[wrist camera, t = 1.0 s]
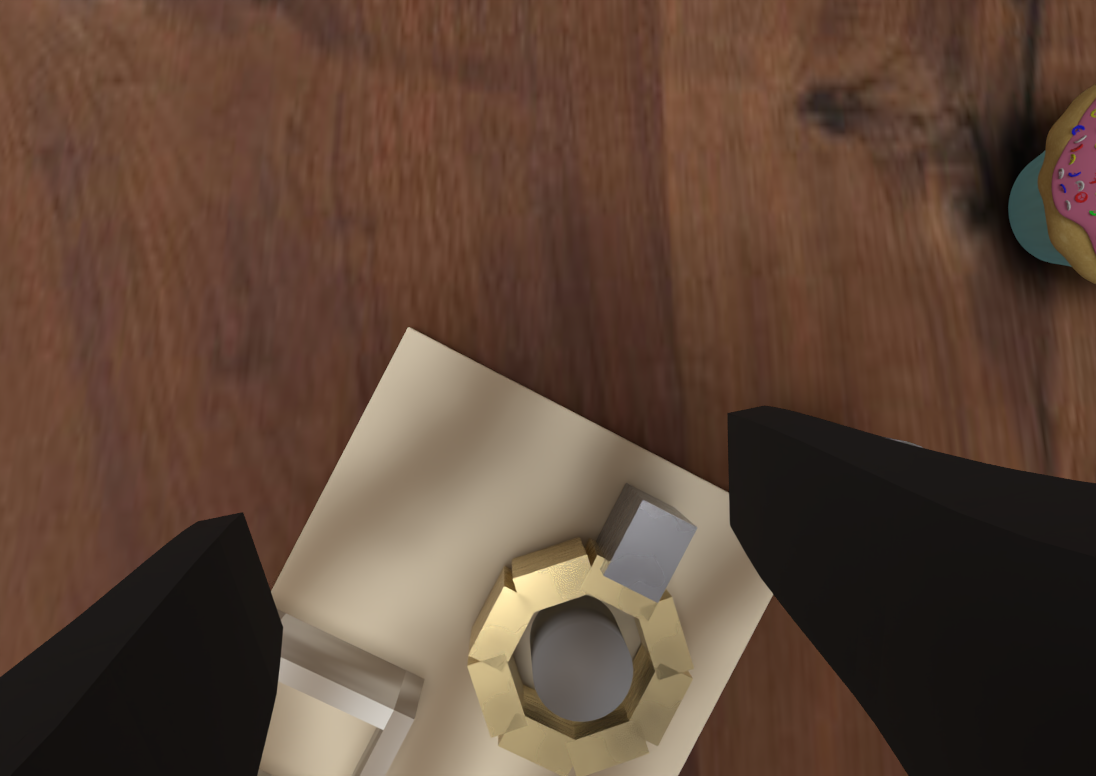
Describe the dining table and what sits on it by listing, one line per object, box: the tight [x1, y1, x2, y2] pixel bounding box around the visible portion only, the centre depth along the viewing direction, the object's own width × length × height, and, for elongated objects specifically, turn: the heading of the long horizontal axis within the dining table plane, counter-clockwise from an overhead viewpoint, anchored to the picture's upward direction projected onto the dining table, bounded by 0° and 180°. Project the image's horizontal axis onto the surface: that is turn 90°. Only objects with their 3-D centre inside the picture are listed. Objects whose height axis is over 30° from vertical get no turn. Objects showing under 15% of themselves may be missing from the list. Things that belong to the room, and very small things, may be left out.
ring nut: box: [467, 483, 697, 776], centre depth 25 cm, size 8×10×3 cm
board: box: [257, 327, 773, 776], centre depth 26 cm, size 18×19×4 cm
